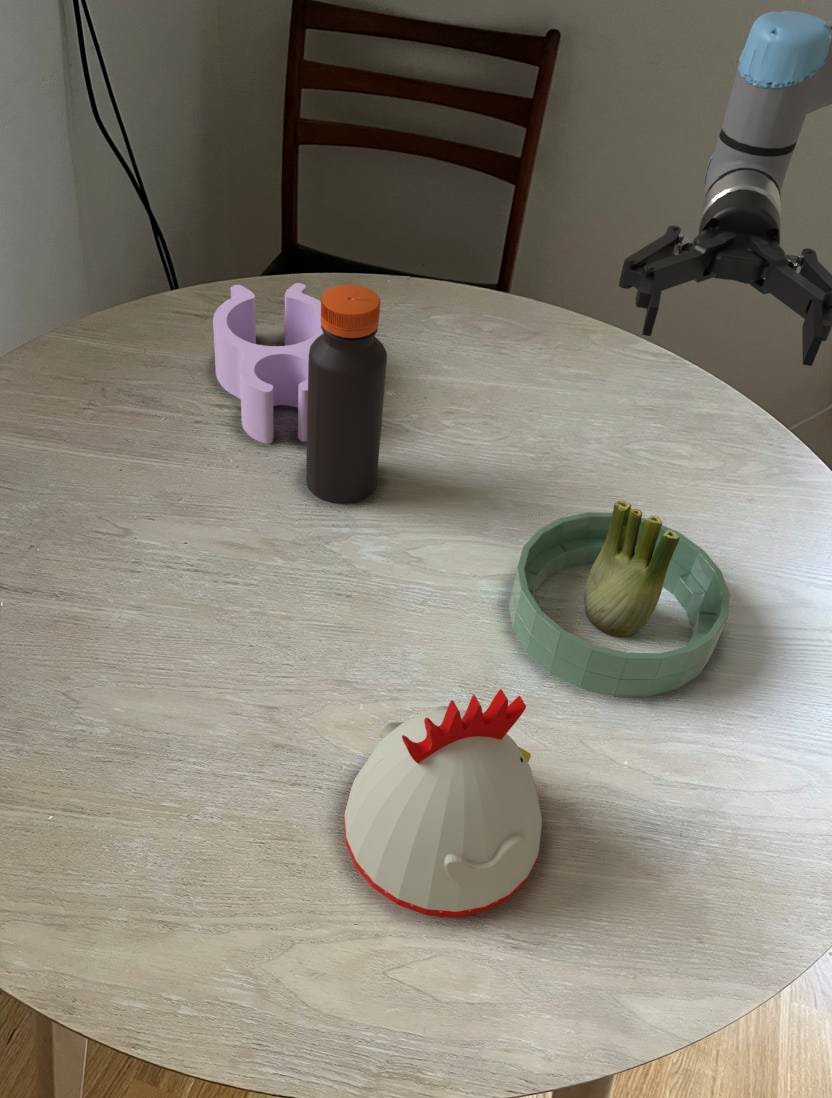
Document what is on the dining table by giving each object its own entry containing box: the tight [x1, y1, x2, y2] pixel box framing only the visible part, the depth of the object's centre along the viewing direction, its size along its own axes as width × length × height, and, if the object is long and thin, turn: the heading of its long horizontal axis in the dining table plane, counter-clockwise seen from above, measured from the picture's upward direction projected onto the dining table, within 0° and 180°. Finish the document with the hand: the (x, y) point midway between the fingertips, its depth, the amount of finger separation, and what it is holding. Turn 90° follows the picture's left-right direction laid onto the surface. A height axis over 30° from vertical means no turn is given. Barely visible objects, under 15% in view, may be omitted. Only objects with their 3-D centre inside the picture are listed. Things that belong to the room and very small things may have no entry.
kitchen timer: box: [343, 688, 543, 918], centre depth 72 cm, size 14×14×15 cm
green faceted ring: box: [508, 511, 731, 698], centre depth 90 cm, size 17×17×6 cm
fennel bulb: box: [583, 500, 680, 637], centre depth 88 cm, size 6×5×12 cm
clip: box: [212, 282, 323, 445], centre depth 111 cm, size 20×12×7 cm, turn 8°
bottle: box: [305, 284, 388, 505], centre depth 96 cm, size 7×7×20 cm
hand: (730, 336), depth 91 cm, fingers open, 13 cm apart
